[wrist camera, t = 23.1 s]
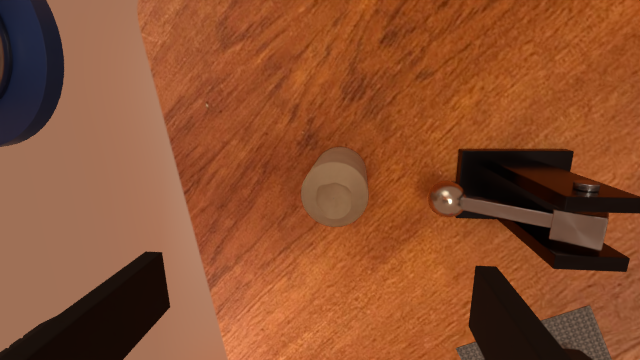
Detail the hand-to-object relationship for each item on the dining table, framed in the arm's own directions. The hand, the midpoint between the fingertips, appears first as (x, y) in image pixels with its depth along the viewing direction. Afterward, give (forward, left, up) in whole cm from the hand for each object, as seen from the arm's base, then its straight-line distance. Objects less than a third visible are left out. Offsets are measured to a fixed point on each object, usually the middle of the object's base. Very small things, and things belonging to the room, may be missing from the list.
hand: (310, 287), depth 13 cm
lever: (+14, -1, -15) cm, 20 cm away
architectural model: (+23, -23, -22) cm, 39 cm away
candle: (0, 0, -22) cm, 22 cm away
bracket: (+17, -1, -22) cm, 28 cm away
